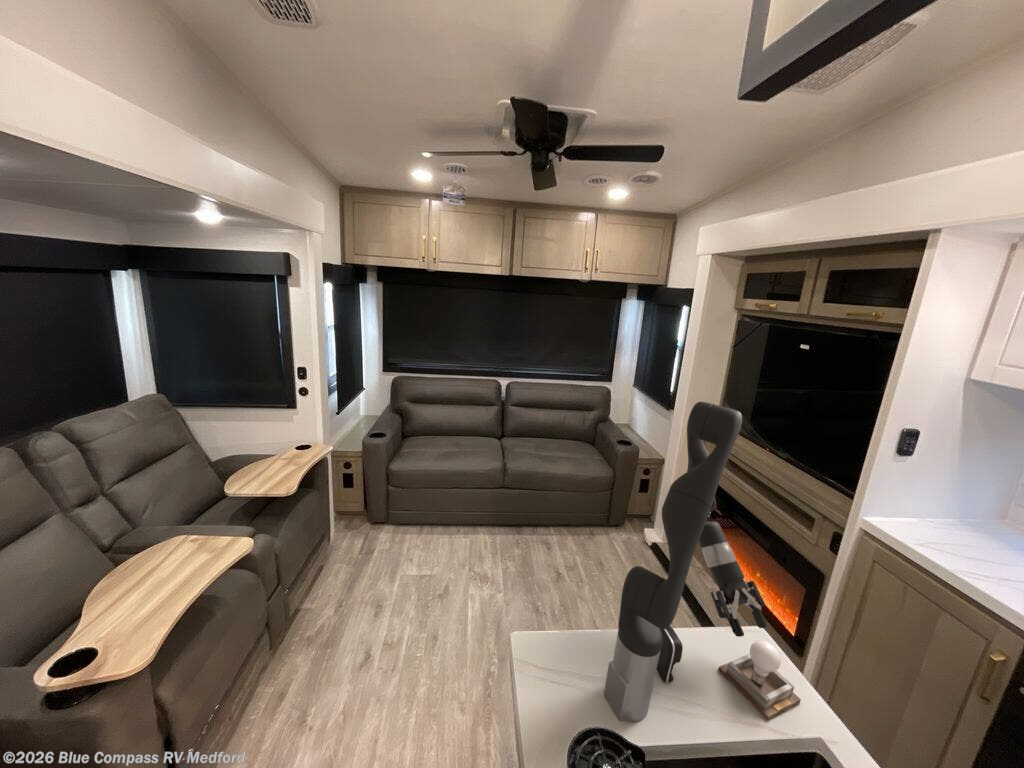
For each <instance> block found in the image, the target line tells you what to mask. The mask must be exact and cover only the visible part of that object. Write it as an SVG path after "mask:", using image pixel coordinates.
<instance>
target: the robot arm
mask: <svg viewBox="0 0 1024 768" xmlns="http://www.w3.org/2000/svg"><path fill="white" fill-rule="evenodd" d="M686 424H687V426H686V442H687V443H686V447H687V468H686V469H687V471H686V472H685V473H683V474H682V475H680V476H679V477H678V478H676V479H675V480H674V481H673V482H671V483H672V484H671V485H670V486H669V489H668V492H667V495H666V497H665V499H664V502H663V505H662V508H661V519H662V521H661V522H662V525H663V529H664V533H665V538H666V542H667V545H668V546H667V547H668V553H669V570H668V573H667V574H668V575H667V578H664V577H662V576H660V575H658V574H657V573H655V572H653V571H651V570H649V569H647V568H645V567H643V566H640V565H636V566H634V567H632V568H631V569H629V571H628V573H627V575H626V577H625V579H624V581H623V586H622V591H621V599H620V600H621V601H620V609H619V616H618V625H617V627H618V628H617V629H618V630H617V633H616V635H617V636H616V640H615V646H614V651H613V659H612V660H611V661H609V662H608V667H607V673H606V678H605V679H606V680H605V685H604V691H603V697H604V698H605V700H606V701H607V703H608V704H609V706H610V707H611V709H612V711H613V712H614V714H615V715H616V717H617V718H618V720H619V721H622V720H623V721H624V720H626V721H629V722H640V721H642V720H644V719H645V718H646V717H647V715H648V712H649V708H650V702H651V698H652V694H653V688H654V683H655V679H656V675H657V674H656V673H657V665H658V661H659V656H660V651H661V646H662V640H663V638H662V633H661V630H660V629H667V628H668V627H669V626H670V627H671V625H672V623H673V622H674V619H675V617H676V614H677V611H678V609H679V607H680V606H679V605H680V602H681V598H682V596H683V593H684V588H685V585H686V581H687V576H688V574H689V570H690V567H691V563H692V560H693V557H694V554H695V551H696V549H697V546H698V544H699V546H700V548H701V551H702V554H703V558H704V560H705V563H706V565H707V568H708V570H709V572H710V575H711V577H712V580H713V582H714V584H716V585H718V589H719V590H715V591H711V592H710V595H711V599H712V600H713V602H714V606H715V608H716V611H717V614H718V616H719V618H720V619H725V620H727V621H728V623H729V625H730V629H731V630H732V633H733V634H734V635H735V637H744V636H745V633H744V630H743V628H742V626H741V625H742V624H740V621H739V619H738V618H737V612H738V610H739V607H740V606H742V605H745V606H746V607H747V608H748V609H750V610H751V614H752V617H753V618H754V620H755V623H756V625H757V627H758V628H759V629H766V628H768V624H767V621H766V619H765V617H764V614H763V612H762V607H764V606H765V605H766V603H765V601H764V599H763V597H762V595H761V593H760V591H759V589H758V587H757V585H756V583H755V581H754V580H749V581H744V580H743V579H745V575H744V573H743V571H742V568H741V566H740V563H739V562H738V559H737V558H736V555H735V553H734V551H733V549H732V547H731V545H730V544H729V542H728V540H727V538H726V536H725V533H724V531H723V529H722V526H721V525H720V523H719V522H718V521H715V520H713V521H712V520H709V521H708V518H709V515H710V513H712V512H713V510H715V508H716V507H717V501H716V497H715V496H716V493H717V490H718V486H719V483H720V479H721V477H722V474H723V472H724V469H725V467H726V465H727V462H728V460H729V457H730V455H731V453H732V451H733V448H734V446H735V443H736V442H737V439H738V437H739V434H740V432H741V429H742V424H743V415H742V413H741V412H740V411H738V410H736V409H734V408H729V407H725V406H722V405H718V404H715V403H714V404H713V403H710V402H707V401H698V402H696V403H695V404H694V405H693V407H692V408H691V411H690V412H689V416H688V419H687V423H686ZM704 442H706V443H707V442H708V443H711V444H713V445H716V446H715V447H714V448H713V451H712V452H710V454H709V451H708V450H707V448H706V446H705V443H704Z"/></svg>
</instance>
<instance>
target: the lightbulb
mask: <svg viewBox="0 0 1024 768" xmlns="http://www.w3.org/2000/svg"><path fill="white" fill-rule="evenodd" d="M749 654H750V656H751V659H752V661H753V668H754V670H753V674H752V679H753V680H754V681H755V682H756V683H758V684H760V685H763V684H764V682H765V679H766V676H768V675H769V673H771V672H774V671H778V670H779V669H780V667H781V661H782V658H781V655H780V653H779V651H778V650H777V648H776V647H775V645H773V643H772V644H771V643H770V642H768V641H766V640H764V639H763V640H756V641H754V642H752V643H751V645H750V647H749Z"/></svg>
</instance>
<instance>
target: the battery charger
mask: <svg viewBox="0 0 1024 768" xmlns="http://www.w3.org/2000/svg"><path fill="white" fill-rule="evenodd" d="M660 630H661V633H662V638H663V640H662V646H661V651H660V656H659V661H658V665H657V670H656V673H657V674H658V676H659V677H660V679H661V682H662V683H664V684H668V683H672V682H673V681H674V679H675V677H674V675H673V670H674V666H675V665H676V664H679V663H681V660H682V656H683V650H684V649H683V648H684V646H683V643H682V641H681V640H680V638H679V636H678V634H677V633H676V631H675V630H674V628H673V627H672V626H671V625H670V626H669V627H668V628H667V629H660Z"/></svg>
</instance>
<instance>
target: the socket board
mask: <svg viewBox="0 0 1024 768" xmlns="http://www.w3.org/2000/svg"><path fill="white" fill-rule="evenodd" d="M753 670H754V668H753V661H752V659H751V656H750V653H747V654H745V655H743V656H741V657H739V658H736V659H734V660H732V661H731V660H730V661H729V662H727V663H724V664H722V665H719V666H718V668H717V671H719V673H720V674H721V675H722V676H723V677H724V678H725V679H726V680H727V681H728V682H729V683H730V684H731V685H732V686H733V687H734V688H735V689H736V690H737V691H738V692H739V693H740V694H741V695H742V697H744V698H745V700H747V701H748V702H749V703H750V704H751V706H753V707H754V709H755V710H756V711H757V712H759V714H760V715H761V716H762V717H763V718H764V719H765V720H766V721H769V720H771V719H773V718H775V717H776V716H778V715H780V714H782V713H784V712H786V711H787V710H789V709H792V708H793V707H794V706H797V705H798V704H800V703H801V701H802V699H801V698H800V697H799V695H797V694H796V693H795V692H794V689H795V686H794V685H793V683H792V682H790V681H789V680H788V679H787V678H785V677H784V676H783V675H782V674H781V673H780V672H779V671H778V670H776V671H774V672H771V673H769V675H768V676H766V679H765V682H764V684H763V685H760V684H758V683H756V682H755V681H754V680H753V679H752V674H753Z"/></svg>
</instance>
